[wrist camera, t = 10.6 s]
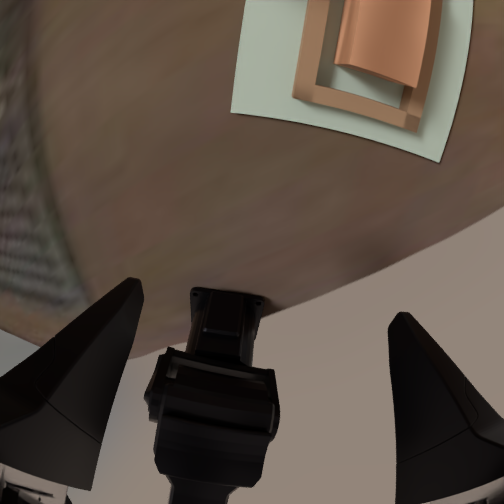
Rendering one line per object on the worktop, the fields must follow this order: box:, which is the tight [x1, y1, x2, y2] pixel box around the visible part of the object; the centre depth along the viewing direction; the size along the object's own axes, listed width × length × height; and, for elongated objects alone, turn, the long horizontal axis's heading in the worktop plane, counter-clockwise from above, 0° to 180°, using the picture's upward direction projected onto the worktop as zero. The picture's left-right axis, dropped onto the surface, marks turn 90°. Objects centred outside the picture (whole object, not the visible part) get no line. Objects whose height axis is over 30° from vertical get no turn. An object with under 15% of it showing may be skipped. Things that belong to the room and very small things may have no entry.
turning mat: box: [231, 0, 473, 163], centre depth 9 cm, size 16×14×2 cm
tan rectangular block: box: [333, 0, 431, 88], centre depth 8 cm, size 4×8×4 cm, turn 173°
